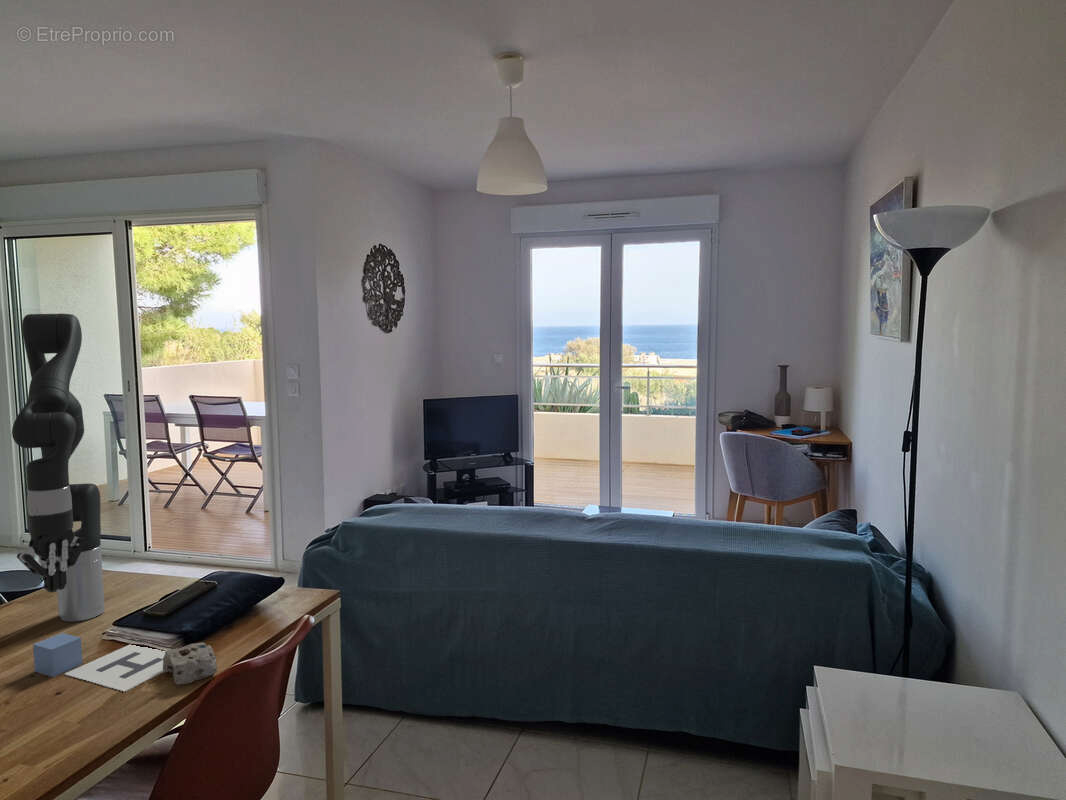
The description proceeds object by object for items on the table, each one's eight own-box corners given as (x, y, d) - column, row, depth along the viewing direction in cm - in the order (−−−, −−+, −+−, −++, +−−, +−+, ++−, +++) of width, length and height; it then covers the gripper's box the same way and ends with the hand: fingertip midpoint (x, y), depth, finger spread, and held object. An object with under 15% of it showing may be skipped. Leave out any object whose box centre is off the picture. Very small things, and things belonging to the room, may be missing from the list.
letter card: (64, 674, 142) (64, 673, 142) (135, 642, 157) (135, 641, 157) (124, 692, 135) (124, 690, 135) (192, 657, 150) (192, 656, 150)
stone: (159, 649, 146) (211, 635, 151) (164, 676, 146) (215, 661, 151) (160, 665, 135) (216, 649, 139) (165, 694, 134) (220, 677, 139)
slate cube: (34, 672, 144) (32, 644, 143) (64, 659, 149) (62, 633, 149) (53, 677, 141) (51, 649, 141) (82, 664, 147) (80, 637, 146)
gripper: (70, 499, 150) (75, 577, 151) (3, 515, 137) (9, 599, 139) (94, 503, 147) (99, 581, 149) (27, 519, 134) (33, 604, 136)
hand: (55, 589), depth 144 cm, fingers closed
